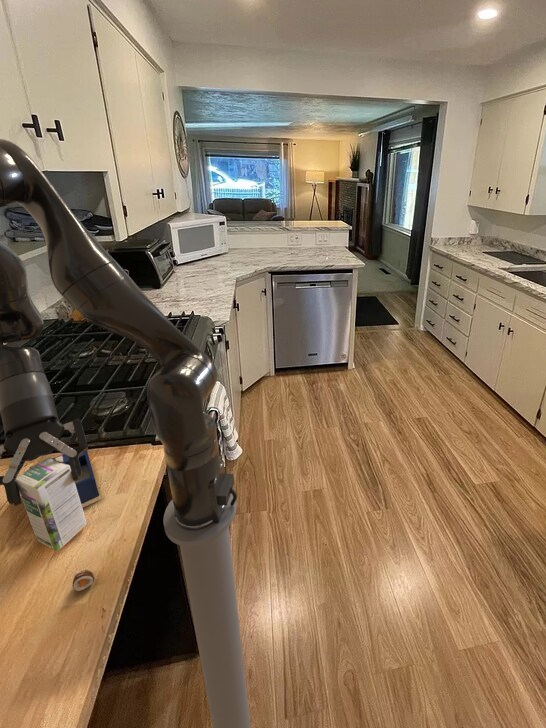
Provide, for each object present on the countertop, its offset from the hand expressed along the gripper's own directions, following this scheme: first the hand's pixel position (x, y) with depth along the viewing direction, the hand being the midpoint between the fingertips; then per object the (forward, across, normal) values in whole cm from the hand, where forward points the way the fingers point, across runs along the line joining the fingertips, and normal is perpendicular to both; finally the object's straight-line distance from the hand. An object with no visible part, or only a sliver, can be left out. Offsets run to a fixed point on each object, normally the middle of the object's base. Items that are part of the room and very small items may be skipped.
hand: (48, 491), depth 61 cm
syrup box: (+7, 0, +9) cm, 11 cm away
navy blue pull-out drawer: (0, +2, +17) cm, 17 cm away
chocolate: (+16, +2, +1) cm, 16 cm away
